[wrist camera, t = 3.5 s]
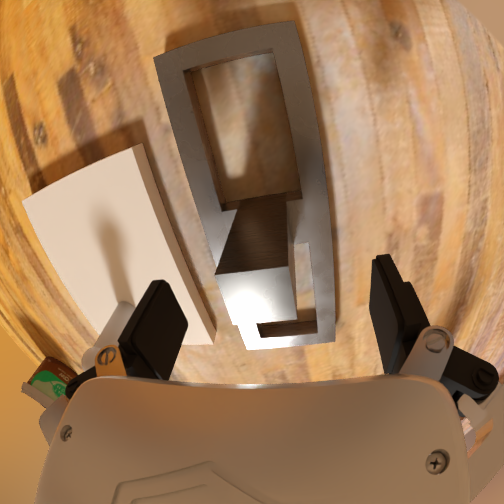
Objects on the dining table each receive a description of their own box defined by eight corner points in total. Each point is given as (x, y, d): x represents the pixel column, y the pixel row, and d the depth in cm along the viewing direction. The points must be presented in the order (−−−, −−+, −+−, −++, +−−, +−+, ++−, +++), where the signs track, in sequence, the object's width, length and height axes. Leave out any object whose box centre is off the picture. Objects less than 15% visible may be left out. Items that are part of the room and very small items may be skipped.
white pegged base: (31, 194, 19) (-37, 247, 11) (142, 142, 16) (43, 197, 8) (108, 332, 28) (76, 395, 20) (216, 332, 25) (195, 420, 17)
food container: (97, 386, 39) (78, 429, 31) (88, 389, 42) (71, 428, 33) (45, 345, 35) (20, 387, 26) (40, 352, 37) (18, 390, 29)
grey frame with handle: (163, 59, 13) (82, 48, 6) (293, 26, 11) (303, -27, 5) (249, 337, 25) (238, 412, 18) (333, 329, 24) (342, 406, 17)
